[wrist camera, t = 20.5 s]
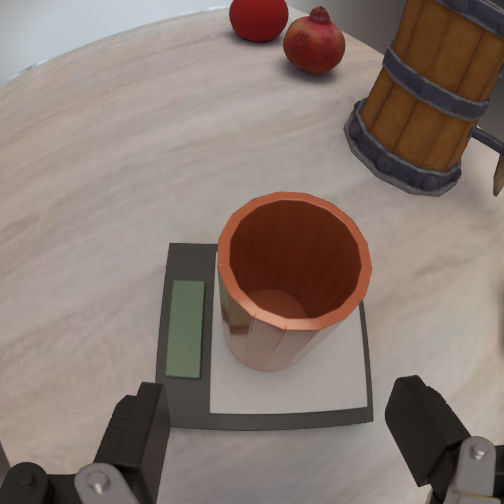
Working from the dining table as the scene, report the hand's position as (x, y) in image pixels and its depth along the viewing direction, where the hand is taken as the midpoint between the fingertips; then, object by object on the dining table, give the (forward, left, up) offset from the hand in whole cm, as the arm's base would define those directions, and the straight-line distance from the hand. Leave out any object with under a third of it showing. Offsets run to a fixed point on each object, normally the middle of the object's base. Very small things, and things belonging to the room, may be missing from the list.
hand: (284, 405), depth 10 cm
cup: (0, +5, -7) cm, 9 cm away
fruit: (+7, +40, -10) cm, 42 cm away
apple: (0, +51, -10) cm, 52 cm away
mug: (+18, +24, -10) cm, 32 cm away
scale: (0, +5, -10) cm, 11 cm away
